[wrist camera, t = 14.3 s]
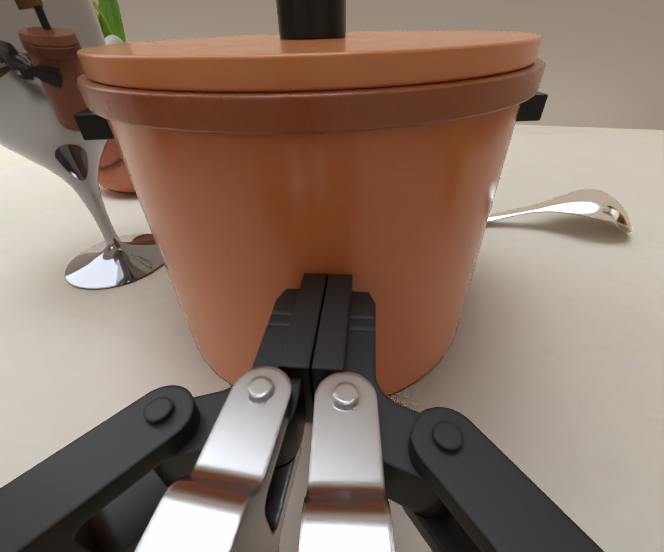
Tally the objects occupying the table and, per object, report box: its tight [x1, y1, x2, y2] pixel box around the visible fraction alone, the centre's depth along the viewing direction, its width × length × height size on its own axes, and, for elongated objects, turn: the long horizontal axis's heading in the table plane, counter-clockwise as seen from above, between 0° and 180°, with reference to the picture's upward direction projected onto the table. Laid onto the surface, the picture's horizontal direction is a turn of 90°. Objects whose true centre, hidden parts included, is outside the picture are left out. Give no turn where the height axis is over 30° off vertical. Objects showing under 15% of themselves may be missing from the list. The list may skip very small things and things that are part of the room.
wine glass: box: [0, 0, 164, 289], centre depth 20 cm, size 8×8×15 cm
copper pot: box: [73, 0, 548, 396], centre depth 17 cm, size 17×19×15 cm
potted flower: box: [91, 0, 135, 192], centre depth 29 cm, size 12×10×25 cm
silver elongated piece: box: [487, 189, 633, 233], centre depth 27 cm, size 20×4×5 cm
